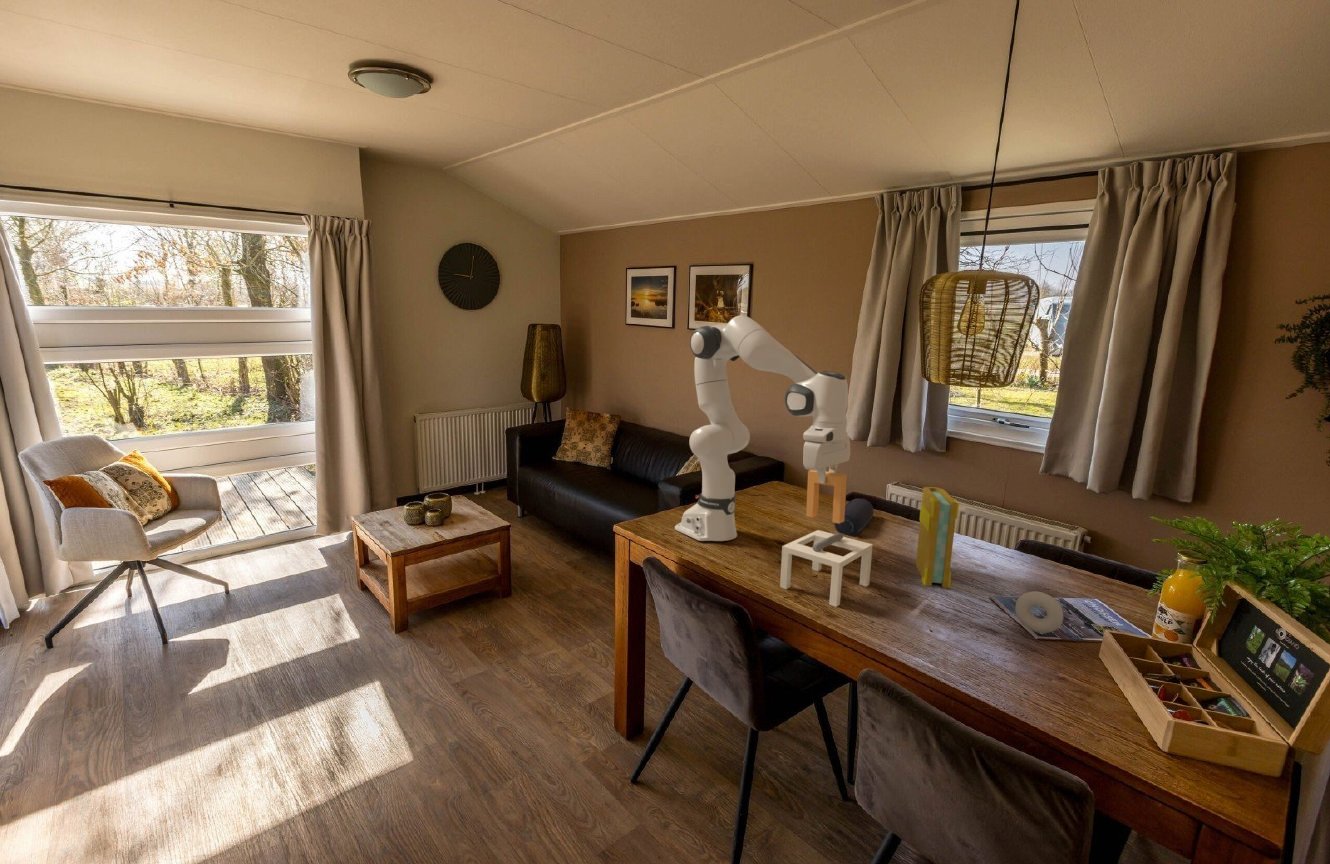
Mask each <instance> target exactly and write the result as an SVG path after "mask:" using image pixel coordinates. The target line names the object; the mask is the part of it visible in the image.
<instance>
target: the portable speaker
mask: <svg viewBox="0 0 1330 864" xmlns="http://www.w3.org/2000/svg"><path fill="white" fill-rule="evenodd" d="M873 517H874V507H873V505H872V503H871V502H870V501H869V500H867V499H865V498H855V499H852V500H850V501H849V502H848V503H847V504H845V517H844V522H842V523H840V524H838V523H834V522H833V525H834V528H835V530H836V532H837V533H843V534H842V535H847V536H851V537H856V536H857V535H859V534H861V533H862V531H864V529H865V528H866V527H867V525H868V524H869V522H871V520H872V518H873Z"/></svg>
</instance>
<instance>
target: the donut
mask: <svg viewBox="0 0 1330 864" xmlns="http://www.w3.org/2000/svg"><path fill="white" fill-rule="evenodd" d="M1036 606H1037V607H1040V608H1041V607H1042V609H1044V610H1045V611H1046V615H1045V617H1044V618H1039V617H1036V616H1035V615H1034V614H1033V612H1032V608H1033V607H1036ZM1014 608H1015V610H1014V611H1015V614H1016V616H1017V619H1018V620H1019V622H1020V623H1021V625H1023V626H1024V627H1025V628H1027V629H1028V630H1030V631H1033V632H1036V633H1041V634H1046V633H1047V634H1048V633H1052V632H1055V631H1057V630H1058V629H1059V628H1060V627H1061V626H1062V625H1063V622H1064V621H1063V620H1064V611H1063V608H1062V606H1061V604H1060V603H1059V602H1058V601H1057V600H1056V598H1054V597H1053V596H1051V595H1049V594H1047V593H1045V592H1043V591H1042V592H1041V591H1038V590H1037V591H1036V590H1035V591H1034V590H1033V591H1028V592H1025V593H1023V594H1022V595H1020V596H1019V598H1018V599H1016V603H1015V606H1014Z"/></svg>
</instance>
